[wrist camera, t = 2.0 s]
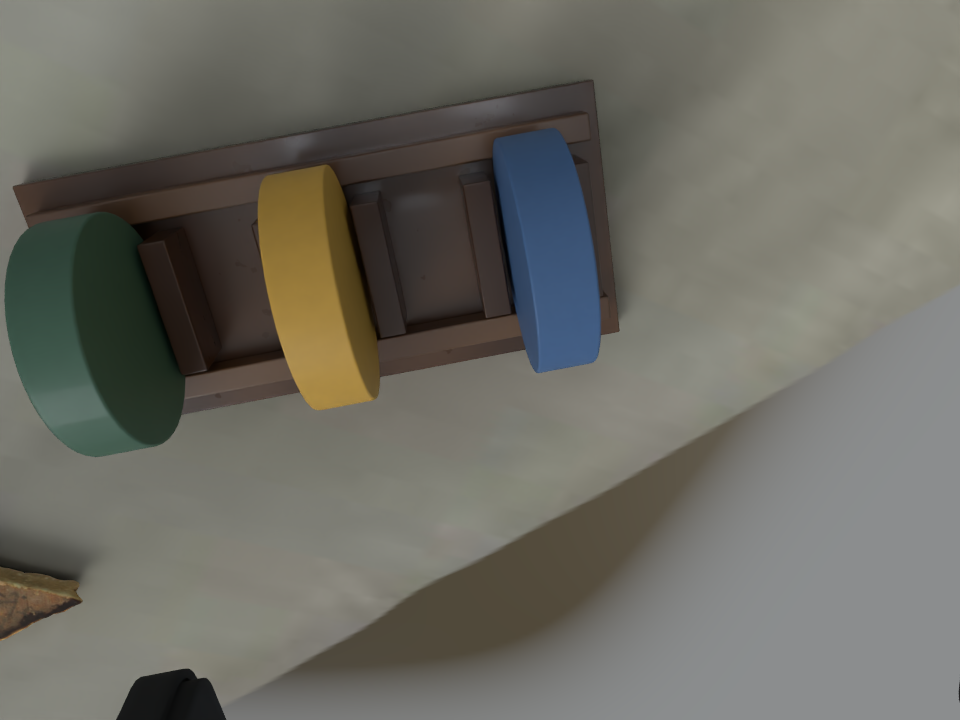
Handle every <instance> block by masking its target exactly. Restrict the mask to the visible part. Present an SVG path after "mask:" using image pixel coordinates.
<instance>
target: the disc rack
mask: <svg viewBox="0 0 960 720" xmlns="http://www.w3.org/2000/svg"><path fill="white" fill-rule="evenodd" d="M548 128H555V129H557V130H558V131H559V132H560V133H561V135H562V136H563V138H564V140H565V142H566V144H567V146H568V148H569V151H570V153H571V156H572V158H573V161H574V164H575V167H576V171H577V174H578V177H579V181H580V185H581V188H582V192H583V196H584V201H585V205H586V209H587V214H588V219H589V224H590V229H591V235H592V240H593V246H594V253H595V259H596V267H597V275H598V284H599V294H600V309H601V335H604V334H609V333H615V332H619V322H618V312H617V302H616V293H615V283H614V274H613V264H612V254H611V245H610V235H609V226H608V216H607V206H606V197H605V187H604V178H603V168H602V159H601V149H600V139H599V130H598V120H597V111H596V101H595V91H594V82H593V80H582V81H577V82H571V83H566V84H561V85H555V86H550V87H544V88H539V89H533V90H528V91H522V92H517V93H511V94H506V95H501V96H495V97H490V98H484V99H479V100H473V101H468V102H462V103H457V104H452V105H446V106H441V107H435V108H430V109H424V110H419V111H413V112H408V113H403V114H397V115H392V116H386V117H381V118H375V119H370V120H364V121H359V122H354V123H348V124H343V125H337V126H332V127H326V128H321V129H315V130H310V131H304V132H299V133H294V134H288V135H283V136H277V137H272V138H266V139H261V140H255V141H250V142H245V143H239V144H234V145H228V146H223V147H217V148H212V149H206V150H201V151H196V152H190V153H185V154H179V155H174V156H168V157H163V158H157V159H152V160H146V161H141V162H136V163H130V164H125V165H119V166H114V167H108V168H103V169H97V170H92V171H87V172H81V173H76V174H70V175H65V176H59V177H54V178H48V179H43V180H38V181H32V182H27V183H22V184H19V185H16V186H13V190H14V192H15V195H16V197H17V200H18V202H19V205H20V207H21V210H22V212H23V215H24V217H25V220H26V222H27V225H28V227H29V228H30V227H32V226H34V225H35V224H38V223H42V222H46V221H51V220H57V219H62V218H68V217H73V216H79V215H84V214H89V213H95V212H108V213H111V214H115V215H117V216H119V217H120V218H122V219H123V220H125V221H126V222H127V223H128V224H130V225H131V226H132V227H133V228H134V229H135V230H136V232H137V233H138V234H139V235H140V237H141V238H142V239H143V240H144V241H143V242H142V243H140V244H139V245H137V249H138V251H139V254H140V257H141V260H142V263H143V266H144V269H145V272H146V274H147V277H148V280H149V283H150V286H151V289H152V292H153V294H154V297H155V300H156V303H157V306H158V309H159V312H160V315H161V317H162V320H163V323H164V326H165V329H166V332H167V335H168V337H169V340H170V343H171V346H172V349H173V352H174V355H175V358H176V360H177V363H178V366H179V369H180V372H181V374H182V375H185V397H184V404H183V409H182V413H181V415H182V414H187V413H192V412H198V411H203V410H208V409H214V408H219V407H224V406H229V405H235V404H240V403H245V402H250V401H256V400H261V399H266V398H272V397H277V396H282V395H287V394H293V393H298V392H300V391H299V389H298V387H297V385H296V383H295V381H294V378H293V376H292V374H291V372H290V369H289V366H288V364H287V361H286V358H285V355H284V352H283V349H282V346H281V343H280V340H279V337H278V333H277V330H276V326H275V322H274V319H273V315H272V311H271V306H270V302H269V298H268V293H267V288H266V283H265V278H264V272H263V265H262V259H261V251H260V243H259V232H258V197H259V189H260V185H261V182H262V180H263V179H264V178H265V177H266V176H267V175H272V174H278V173H283V172H288V171H294V170H299V169H305V168H310V167H316V166H321V165H329V166H330V167H331V168H332V170H333V171H334V173H335V175H336V177H337V179H338V181H339V183H340V186H341V188H342V191H343V193H344V196H345V199H346V202H347V205H348V208H349V212H350V215H351V218H352V222H353V225H354V229H355V233H356V236H357V240H358V245H359V249H360V253H361V257H362V262H363V266H364V270H365V275H366V280H367V284H368V290H369V295H370V300H371V306H372V311H373V318H374V324H375V331H376V338H377V346H378V356H379V369H380V377H382V376H388V375H393V374H398V373H403V372H409V371H414V370H419V369H425V368H430V367H435V366H440V365H446V364H451V363H456V362H462V361H467V360H472V359H477V358H483V357H488V356H493V355H498V354H504V353H509V352H514V351H520V350H525V349H526V348H525V345H524V341H523V337H522V334H521V330H520V326H519V322H518V317H517V313H516V309H515V304H514V299H513V295H512V290H511V285H510V280H509V275H508V269H507V264H506V258H505V253H504V247H503V241H502V235H501V229H500V222H499V215H498V208H497V200H496V192H495V183H494V172H493V143H494V140H495V139H496V138H499V137H505V136H510V135H516V134H521V133H526V132H532V131H537V130H543V129H548Z"/></svg>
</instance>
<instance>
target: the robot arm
mask: <svg viewBox="0 0 960 720" xmlns="http://www.w3.org/2000/svg"><path fill="white" fill-rule="evenodd" d="M959 701H960V684H959ZM116 720H226V718H225V715H224V713H223V711H222V708H221V706H220V703H219V701H218V699H217V696H216V694H215V691H214V689H213V687H212V685H211V683H210V681H209V680H208V679H207V678H200V679H197V677H196V676H195V674H194V672H193V671H191V670H190V669H180V670H175V671H170V672H165V673H159V674H154V675H149V676H144V677H140V678H139V679H137V680H136V681H135V683H134V684H133V686H132V687H131V689H130V691H129V694H128V696H127V698H126V700H125V702H124V704H123V707H122V709H121V711H120V713H119V715H118V717H117V719H116Z"/></svg>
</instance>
